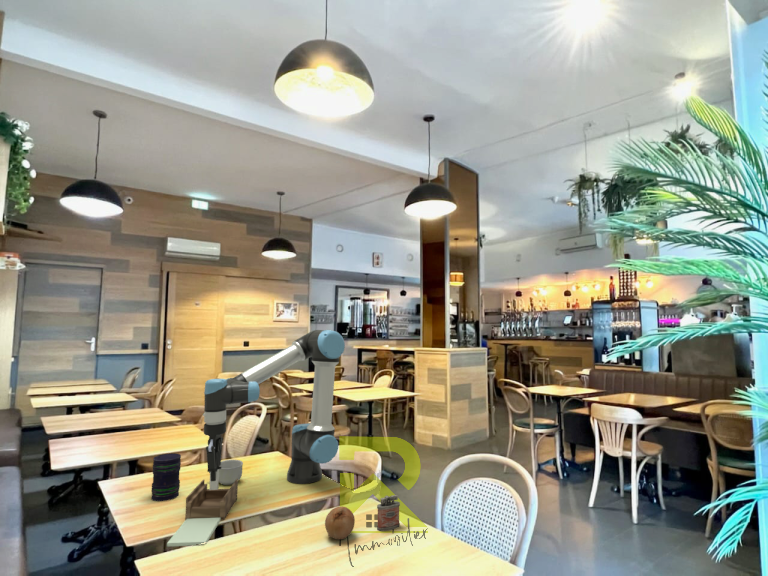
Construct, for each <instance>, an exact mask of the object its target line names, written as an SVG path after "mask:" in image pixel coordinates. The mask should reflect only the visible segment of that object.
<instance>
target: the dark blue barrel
mask: <svg viewBox="0 0 768 576" xmlns="http://www.w3.org/2000/svg"><path fill="white" fill-rule="evenodd" d="M181 456H182V455H181V454H179V453H172V452H171V453H163V454H159V455H156V456H154V457H153V462H152V471H151V472H152V474H153V476H152V483H151V500H152V501H154V502H167V501H171V500H174V499H176V498H178V497H179V495H180V492H179V491H180V488H181V485H180V483H181V480H180V471H181V466H182V465H181V464H182V461H181Z"/></svg>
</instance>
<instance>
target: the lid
mask: <svg viewBox="0 0 768 576" xmlns="http://www.w3.org/2000/svg"><path fill="white" fill-rule="evenodd" d="M221 521H222V520H221V518H190V519H186V520H185V519H184V521H183V523H182V524H181V525H180V527H178V529H177V530H176V531H175V533H174V534H173V535H172V536H171V538H170V539H169V540H168V541H167V543H166V547H189V546H190V547H191V546H192V547H193V546H197V545H196V544H201V543H204V542H207V543H208V542H209V540H210V538H211V537H212V535H213V533H214V532H215V530H216V528H217V527H218V525H219V524H220V523H221ZM200 546H203V545H202V544H201V545H200Z"/></svg>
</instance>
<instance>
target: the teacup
mask: <svg viewBox="0 0 768 576" xmlns="http://www.w3.org/2000/svg"><path fill="white" fill-rule="evenodd" d="M243 465H244V462H243V461H242V460H240V459H225V460H221V465H220V466H219V467H221V469H218V470H219V483H220V485H223V486H232V485H233V483H234V482H235V480H236V479H238V481H240V479H241V478H242V475H243ZM208 473H209V474H210V472H208Z"/></svg>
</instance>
